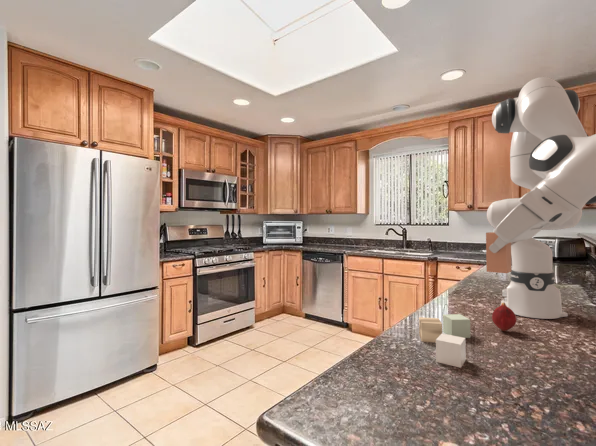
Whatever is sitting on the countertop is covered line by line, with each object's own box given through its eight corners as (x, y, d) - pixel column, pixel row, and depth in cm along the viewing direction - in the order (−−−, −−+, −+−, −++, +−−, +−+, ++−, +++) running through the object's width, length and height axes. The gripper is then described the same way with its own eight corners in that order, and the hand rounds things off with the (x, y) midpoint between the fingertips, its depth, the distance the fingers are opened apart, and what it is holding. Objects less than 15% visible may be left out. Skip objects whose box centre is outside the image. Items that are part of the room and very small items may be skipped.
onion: (520, 335, 87) (520, 305, 87) (497, 334, 88) (496, 305, 88) (510, 328, 93) (510, 300, 93) (489, 327, 94) (488, 300, 94)
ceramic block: (441, 354, 75) (441, 333, 75) (465, 360, 72) (465, 337, 72) (436, 362, 71) (435, 339, 71) (460, 368, 68) (460, 344, 68)
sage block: (443, 332, 91) (442, 314, 91) (460, 331, 91) (460, 314, 91) (452, 338, 86) (451, 319, 86) (470, 338, 86) (470, 319, 86)
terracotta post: (491, 269, 77) (491, 232, 77) (511, 271, 74) (510, 232, 74) (486, 271, 74) (485, 232, 74) (506, 273, 71) (506, 232, 71)
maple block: (419, 335, 88) (418, 317, 88) (438, 336, 87) (438, 318, 87) (421, 341, 83) (421, 322, 83) (442, 343, 82) (442, 323, 82)
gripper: (544, 198, 76) (497, 238, 83) (523, 193, 62) (469, 242, 69) (568, 216, 73) (518, 256, 80) (552, 215, 59) (493, 264, 66)
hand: (495, 250), depth 74 cm, fingers closed on terracotta post, 4 cm apart
